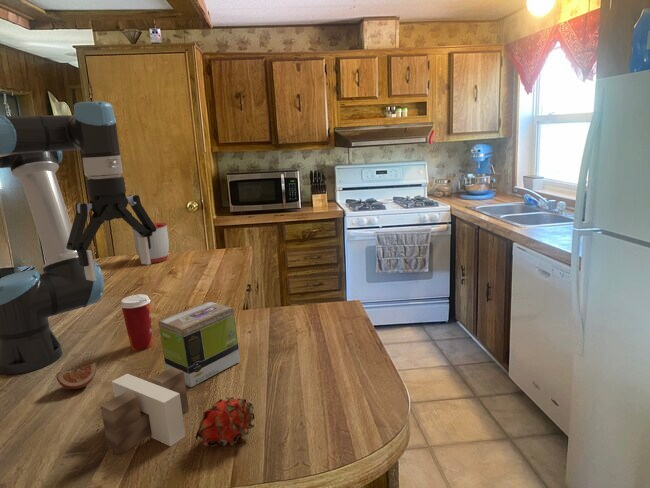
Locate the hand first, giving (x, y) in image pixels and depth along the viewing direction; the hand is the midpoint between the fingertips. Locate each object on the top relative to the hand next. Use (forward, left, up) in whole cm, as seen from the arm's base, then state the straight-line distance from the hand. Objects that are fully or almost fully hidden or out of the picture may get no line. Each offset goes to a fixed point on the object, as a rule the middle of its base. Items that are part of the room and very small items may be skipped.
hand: (120, 271), depth 106 cm
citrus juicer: (-94, +75, -27) cm, 123 cm away
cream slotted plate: (+20, -11, -27) cm, 35 cm away
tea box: (+11, +11, -27) cm, 31 cm away
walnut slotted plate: (+20, -11, -27) cm, 35 cm away
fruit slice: (-9, -9, -27) cm, 30 cm away
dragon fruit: (+36, -6, -27) cm, 45 cm away
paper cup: (-15, +12, -27) cm, 33 cm away
